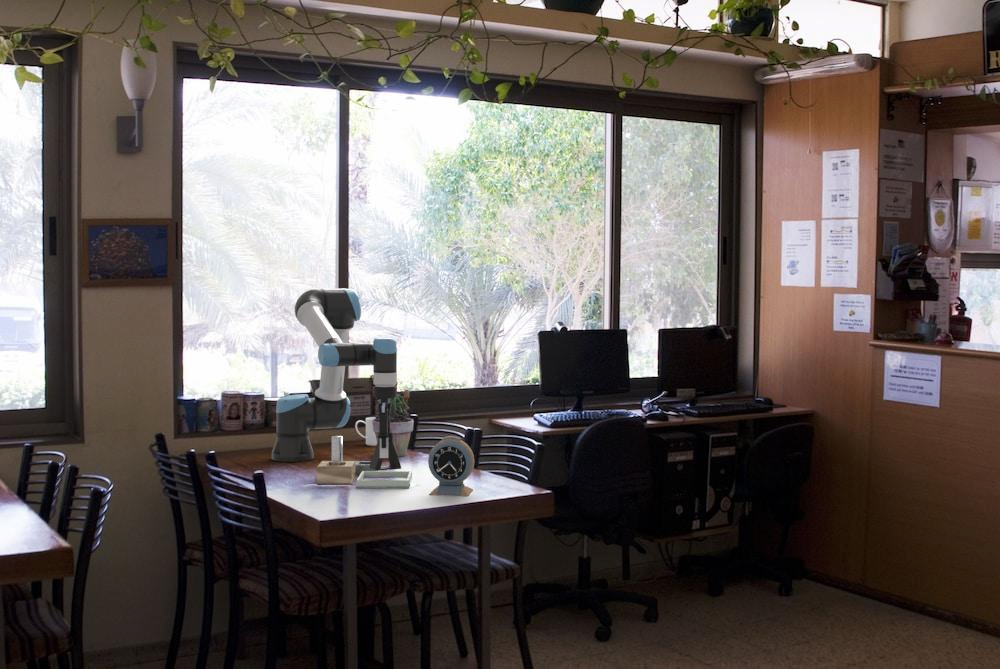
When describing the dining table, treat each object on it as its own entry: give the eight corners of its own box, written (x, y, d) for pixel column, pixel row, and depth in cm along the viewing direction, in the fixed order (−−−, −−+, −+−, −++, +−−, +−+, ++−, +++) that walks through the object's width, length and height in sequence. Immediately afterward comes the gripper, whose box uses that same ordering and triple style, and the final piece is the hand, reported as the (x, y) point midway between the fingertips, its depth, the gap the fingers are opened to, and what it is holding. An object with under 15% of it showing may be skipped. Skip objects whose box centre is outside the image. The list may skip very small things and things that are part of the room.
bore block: (322, 478, 366) (322, 460, 366) (355, 478, 366) (355, 460, 366) (317, 485, 355) (317, 466, 355) (351, 485, 355) (351, 466, 355)
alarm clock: (425, 495, 340) (425, 438, 339) (431, 489, 350) (432, 433, 349) (471, 496, 338) (471, 439, 337) (476, 490, 348) (476, 434, 347)
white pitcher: (383, 442, 446) (383, 416, 446) (387, 445, 439) (387, 419, 438) (353, 443, 442) (353, 417, 442) (357, 446, 435) (357, 420, 434)
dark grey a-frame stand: (375, 470, 354) (375, 433, 353) (369, 467, 359) (369, 431, 359) (401, 468, 358) (401, 432, 357) (395, 465, 363) (395, 429, 362)
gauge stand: (354, 472, 378) (354, 461, 377) (378, 472, 378) (378, 461, 377) (352, 476, 370) (352, 465, 369) (375, 477, 370) (375, 465, 369)
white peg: (332, 480, 362) (332, 435, 362) (343, 480, 362) (343, 435, 362) (330, 482, 359) (330, 437, 358) (341, 483, 359) (341, 437, 358)
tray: (362, 478, 367) (362, 471, 367) (412, 478, 367) (412, 471, 367) (356, 488, 350) (356, 480, 350) (408, 488, 351) (408, 480, 350)
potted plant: (368, 450, 425) (368, 386, 424) (418, 451, 424) (419, 386, 423) (360, 458, 407) (360, 391, 406) (413, 459, 406) (413, 391, 405)
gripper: (376, 382, 367) (376, 451, 368) (370, 388, 347) (370, 461, 348) (398, 382, 367) (398, 451, 368) (394, 388, 347) (394, 461, 348)
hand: (385, 455), depth 358 cm, fingers closed on dark grey a-frame stand, 7 cm apart
